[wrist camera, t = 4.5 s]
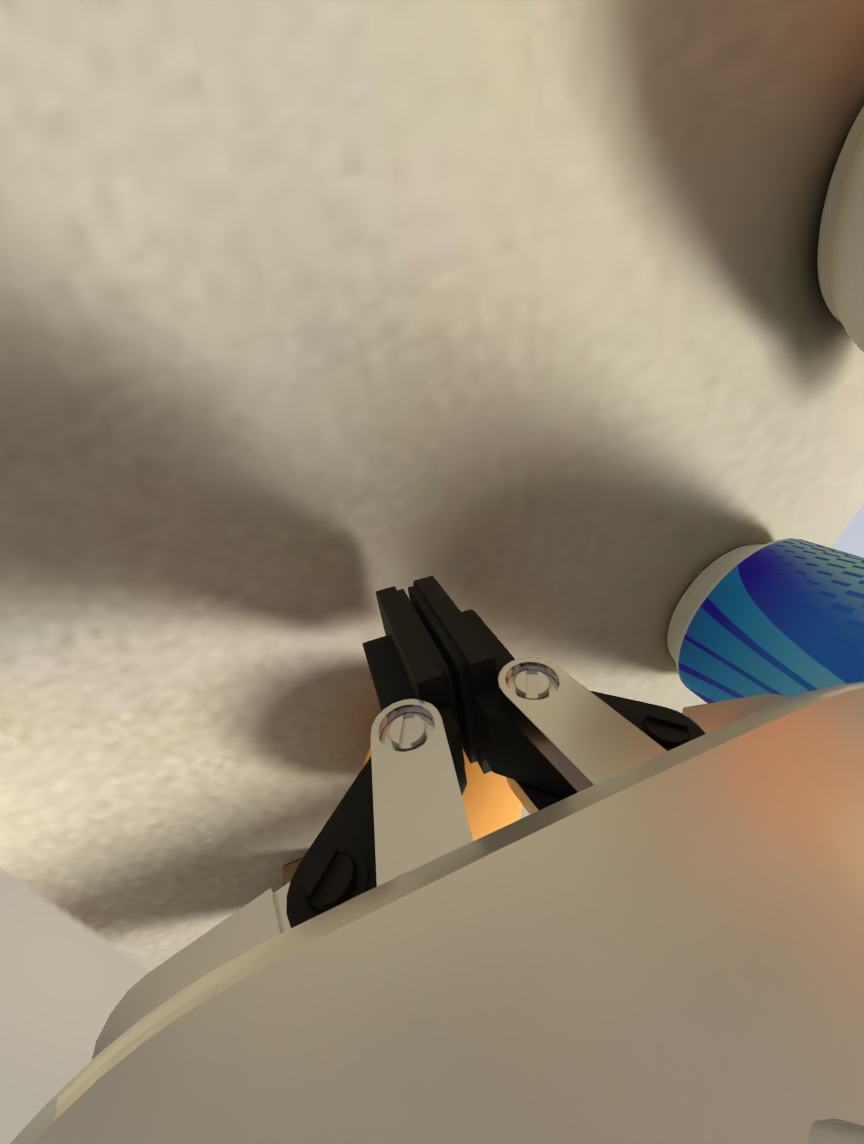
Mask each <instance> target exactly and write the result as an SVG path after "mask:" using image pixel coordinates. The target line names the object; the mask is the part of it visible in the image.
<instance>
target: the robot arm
mask: <svg viewBox="0 0 864 1144" xmlns="http://www.w3.org/2000/svg"><path fill="white" fill-rule="evenodd" d="M408 592H409V598H410V600H409V598H408V596H407V595H406V593H405V591H404V590H403V589H401V590H398V591H397V590H396V588H395V586H394V587H390V588H386V589H383V590H379V591H376V596H377V600H378V605H379V609H380V613H381V617H382V621H383V625H384V630H385V634H386V636H384V637H381V638H378V639H374V640H371V641H368V642H365V643H363V647H364V651H365V654H366V658H367V661H368V665H369V669H370V672H371V676H372V679H373V683H374V686H375V690H376V693H377V697H378V700H379V704H380V707H381V711H382V712H381V713H380V714H379V715H378V716H377V717H376V719H375V721H374V723H373V725H372V728H371V735H370V737H371V757H370V758H369V760H368V761H367V763H366V764H365V766H364V767H363V769H362V770H361V772H360V773H359V775H358V776H357V778H356V779H355V781H354V782H353V784H352V785H351V787H350V788H349V790H348V791H347V793H346V794H345V796H344V797H343V799H342V800H341V802H340V803H339V805H338V806H337V808H336V809H335V811H334V812H333V814H332V815H331V817H330V818H329V820H328V821H327V823H326V824H325V826H324V827H323V829H322V830H321V832H320V833H319V835H318V836H317V838H316V839H315V841H314V842H313V844H312V845H311V847H310V848H309V850H308V851H307V853H306V854H305V856H304V857H303V859H302V860H301V862H300V863H299V865H298V867H297V869H296V871H295V873H294V875H293V877H292V879H291V881H290V882H289V883H287V884H286V885H284V886H283V887H282V888H280V889H279V890H277V891H276V892H275V893H274V892H273V891H272V890H271V888H270V889H268V890H267V891H265V892H264V893H263V894H261V895H260V896H258V897H257V898H255V899H254V900H253V901H251V902H250V903H248V904H247V905H245V906H244V907H242V908H241V909H240V910H238V911H237V912H235V913H234V914H232V915H231V916H230V917H228V918H227V919H225V920H224V921H222V922H221V923H220V924H218V925H217V926H215V927H214V928H212V929H211V930H209V931H208V932H207V933H205V934H204V935H202V936H201V937H199V938H198V939H197V940H195V941H194V942H192V943H191V944H189V945H188V946H187V947H185V948H184V949H182V950H181V951H179V952H178V953H176V954H175V955H174V956H172V957H171V958H169V959H168V960H166V961H165V962H164V963H162V964H161V965H159V966H158V967H156V968H155V969H154V970H152V971H151V972H149V973H148V974H147V975H145V976H144V977H143V978H142V979H141V980H140V981H139V982H138V983H136V984H135V985H134V986H133V987H132V988H131V989H130V990H129V991H128V992H127V993H126V994H125V996H124V997H123V998H122V1000H121V1001H120V1002H119V1003H118V1005H117V1006H116V1007H115V1009H114V1010H113V1011H112V1013H111V1014H110V1016H109V1018H108V1020H107V1022H106V1024H105V1026H104V1028H103V1030H102V1032H101V1034H100V1036H99V1037H98V1039H97V1042H96V1045H95V1049H94V1053H93V1057H92V1060H91V1061H90V1062H89V1063H88V1064H87V1065H86V1066H85V1067H84V1068H83V1069H82V1070H81V1071H80V1072H79V1073H78V1074H77V1075H76V1076H75V1077H74V1078H73V1079H72V1080H71V1081H70V1082H69V1083H68V1084H67V1085H66V1086H64V1087H63V1089H61V1090H60V1091H59V1092H58V1093H57V1094H56V1095H55V1096H54V1097H53V1098H52V1099H51V1100H50V1101H49V1102H48V1103H47V1104H46V1105H45V1107H44V1108H42V1110H41V1111H40V1112H39V1113H38V1114H37V1115H36V1116H35V1117H34V1118H33V1119H32V1120H31V1121H30V1122H29V1123H28V1125H27V1126H26V1127H25V1128H24V1129H23V1130H22V1131H21V1133H19V1134H18V1136H17V1137H16V1138H15V1139H14V1140H13V1141H12V1143H10V1144H864V682H857V683H850V684H843V685H836V686H831V687H826V688H822V689H818V690H814V691H810V692H806V693H803V694H800V695H798V696H795V697H792V698H791V697H787V696H783V695H778V694H762V695H756V696H750V697H744V698H738V699H732V700H726V701H720V702H714V703H708V704H702V705H696V706H690V707H684V708H683V712H682V713H679V712H678V711H675V710H672V709H669V708H666V707H662V706H657V705H653V704H648V703H644V702H639V701H635V700H630V699H626V698H621V697H616V696H612V695H607V694H603V693H598V692H594V691H589V690H588V689H587V688H585V687H584V686H583V685H581V684H580V683H579V682H578V681H576V680H575V679H574V678H572V677H571V676H570V675H568V674H567V673H566V672H565V671H563V670H562V669H561V668H559V667H558V666H557V665H555V664H553V663H551V662H550V661H547V660H544V659H541V658H532V657H527V658H519V659H516V660H515V659H514V657H513V656H512V655H511V654H510V653H509V652H508V650H507V649H506V648H505V647H504V646H503V644H502V643H501V642H500V641H499V640H498V639H497V637H496V636H495V635H494V634H493V633H492V631H491V630H490V629H489V628H488V627H487V626H486V624H485V623H484V622H483V621H482V620H481V618H480V617H479V616H478V615H477V614H476V613H475V612H474V611H473V610H467V611H464V612H461V611H460V610H459V609H458V608H457V606H456V605H455V604H454V602H453V601H452V600H451V599H450V597H449V596H448V595H447V593H446V592H445V591H444V590H443V588H442V587H441V586H440V585H439V583H438V582H437V581H436V579H435V578H434V577H433V576H429V577H425V578H422V579H418V580H415V581H414V586H412V587H408ZM463 750H464V752H465V754H466V756H467V758H468V760H469V762H470V763H471V764H472V763H474V762H478V764H479V766H480V768H481V769H482V771H483V773H484V774H486V773H488V772H490V771H492V772H493V773H496V774H499V775H502V776H505V777H506V780H507V783H508V785H509V787H510V788H511V790H512V791H513V793H514V794H515V795H516V797H517V798H518V799H519V801H520V802H521V803H522V805H523V806H524V807H525V808H526V810H527V811H528V812H529V814H530V815H529V816H526V817H524V818H522V819H520V820H518V821H516V822H514V823H511V824H509V825H507V826H505V827H503V828H501V829H498V830H496V831H494V832H492V833H490V834H488V835H486V836H484V837H481V838H479V839H477V840H475V841H473V838H472V834H471V830H470V826H469V822H468V819H467V815H466V811H465V807H464V803H463V799H462V795H463V792H464V790H465V788H466V785H467V779H466V772H465V761H464V754H463Z"/></svg>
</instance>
